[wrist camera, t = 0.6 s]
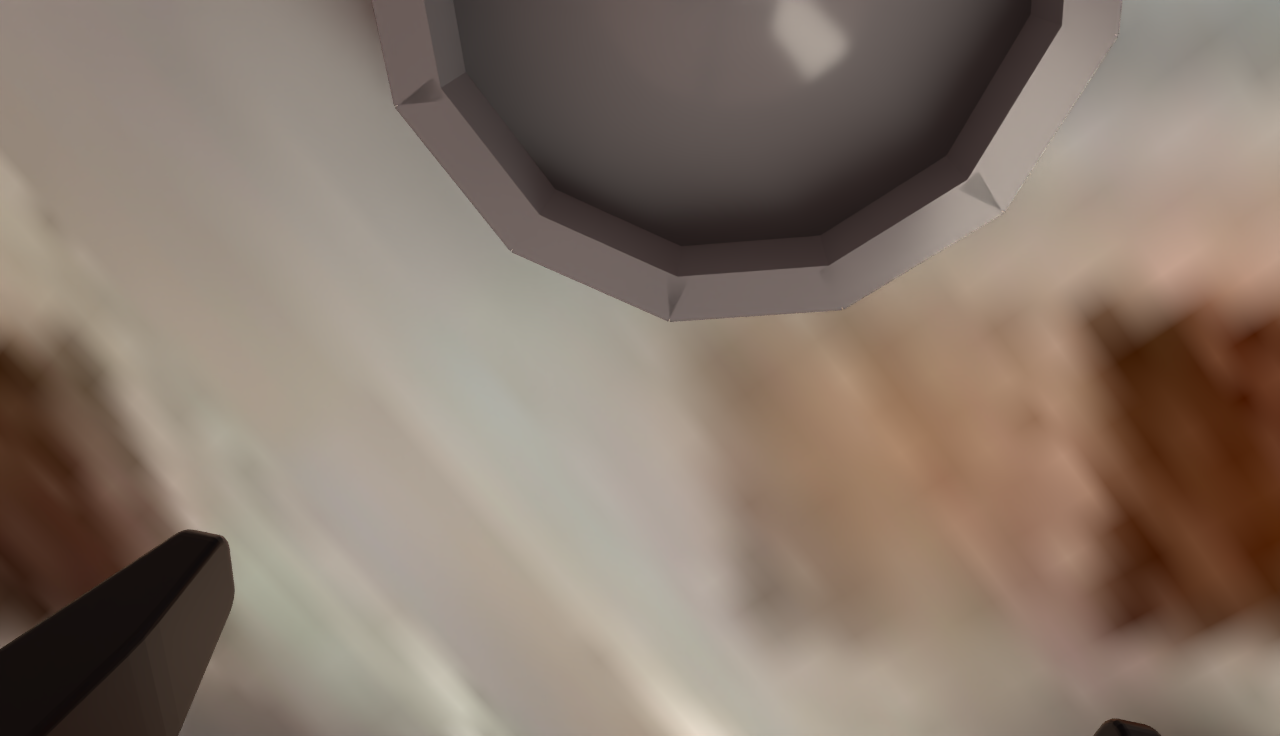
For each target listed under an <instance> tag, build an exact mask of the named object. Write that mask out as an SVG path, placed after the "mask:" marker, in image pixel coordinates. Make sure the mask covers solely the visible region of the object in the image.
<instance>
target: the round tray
mask: <svg viewBox="0 0 1280 736" xmlns="http://www.w3.org/2000/svg"><path fill="white" fill-rule="evenodd" d="M372 4H373V9H374V14H375V18H376V23H377V28H378V32H379V37H380V42H381V46H382V51H383V56H384V61H385V65H386V70H387V75H388V79H389V84H390V89H391V93H392V98H393V103H394V106H395V105H398V106H397V107H395V108H396V109H397V111H398V112H399V113H400V114H401V116H402V117H403V118H404V119H405V121H406V122H407V123H408V124H409V126H410V127H411V128H412V129H413V131H414V132H415V133H416V134H417V136H418V137H419V138H420V139H421V141H422V142H423V143H424V144H425V146H426V147H427V148H428V149H429V151H430V152H431V153H432V154H433V156H434V157H435V158H436V159H437V161H438V162H439V163H440V164H441V166H442V167H443V168H444V169H445V171H446V172H447V173H448V174H449V176H450V177H451V178H452V179H453V181H454V182H455V183H456V184H457V185H458V187H459V188H460V189H461V190H462V192H463V193H464V194H465V195H466V197H467V198H468V199H469V200H470V202H471V203H472V204H473V205H474V207H475V208H476V209H477V210H478V212H479V213H480V214H481V215H482V217H483V218H484V219H485V220H486V222H487V223H488V224H489V225H490V227H491V228H492V229H493V230H494V232H495V233H496V234H497V235H498V237H499V238H500V239H501V240H502V242H503V243H504V244H505V245H506V247H507V248H508V249H509V250H510V251H511V250H512V249H513V250H512V253H515V254H517V255H519V256H521V257H524V258H526V259H528V260H530V261H533V262H535V263H537V264H539V265H542V266H544V267H546V268H548V269H551V270H553V271H555V272H558V273H560V274H562V275H564V276H567V277H569V278H571V279H573V280H576V281H578V282H580V283H582V284H585V285H587V286H589V287H591V288H594V289H596V290H598V291H601V292H603V293H605V294H607V295H610V296H612V297H614V298H616V299H619V300H621V301H623V302H625V303H628V304H630V305H632V306H634V307H637V308H639V309H641V310H643V311H646V312H648V313H650V314H653V315H655V316H657V317H659V318H662V319H664V320H666V321H669V319H670V322H674V321H688V320H703V319H718V318H733V317H747V316H762V315H777V314H792V313H806V312H821V311H836V310H842V308H843V309H845V308H847V307H849V306H850V305H852V304H854V303H855V302H857V301H859V300H860V299H862V298H864V297H865V296H867V295H869V294H870V293H872V292H874V291H875V290H877V289H879V288H880V287H882V286H884V285H885V284H887V283H889V282H890V281H892V280H894V279H895V278H897V277H899V276H900V275H902V274H904V273H906V272H907V271H909V270H911V269H912V268H914V267H916V266H917V265H919V264H921V263H922V262H924V261H926V260H927V259H929V258H931V257H932V256H934V255H936V254H937V253H939V252H941V251H942V250H944V249H946V248H947V247H949V246H951V245H952V244H954V243H956V242H957V241H959V240H961V239H962V238H964V237H966V236H967V235H969V234H971V233H972V232H974V231H976V230H977V229H979V228H981V227H982V226H984V225H986V224H987V223H989V222H991V221H992V220H994V219H996V218H997V217H999V216H1001V215H1002V214H1003V212H1002V211H1004V212H1006V210H1007V209H1008V207H1009V205H1010V204H1011V202H1012V201H1013V199H1014V198H1015V196H1016V195H1017V193H1018V191H1019V190H1020V188H1021V187H1022V185H1023V184H1024V182H1025V181H1026V179H1027V177H1028V176H1029V174H1030V173H1031V171H1032V170H1033V168H1034V167H1035V165H1036V163H1037V162H1038V160H1039V159H1040V157H1041V156H1042V154H1043V153H1044V151H1045V149H1046V148H1047V146H1048V145H1049V143H1050V142H1051V140H1052V139H1053V137H1054V135H1055V134H1056V132H1057V131H1058V129H1059V128H1060V126H1061V125H1062V123H1063V121H1064V120H1065V118H1066V117H1067V115H1068V114H1069V112H1070V111H1071V109H1072V107H1073V106H1074V104H1075V103H1076V101H1077V100H1078V98H1079V97H1080V95H1081V93H1082V92H1083V90H1084V89H1085V87H1086V86H1087V84H1088V83H1089V81H1090V79H1091V78H1092V76H1093V75H1094V73H1095V72H1096V70H1097V69H1098V67H1099V65H1100V64H1101V62H1102V61H1103V59H1104V58H1105V56H1106V55H1107V53H1108V51H1109V50H1110V48H1111V47H1112V45H1113V44H1114V42H1115V41H1116V39H1117V37H1118V36H1116V35H1115V34H1119V28H1120V18H1121V8H1122V0H372Z"/></svg>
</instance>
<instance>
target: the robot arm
mask: <svg viewBox="0 0 1280 736" xmlns="http://www.w3.org/2000/svg"><path fill="white" fill-rule="evenodd" d="M234 592H235V589H234V580H233V572H232V564H231V556H230V548H229V544H228V541H227V540H226V539H225V538H224V537H223V536H221V535H217V534H212V533H207V532H202V531H197V530H184V531H181V532H178V533H177V534H175V535H173V536H172V537H170V538H169V539H167V540H166V541H164V542H163V543H161V544H160V545H158V546H157V547H155V548H154V549H152V550H151V551H149V552H147V553H146V554H144V555H143V556H141V557H140V558H138V559H137V560H135V561H134V562H132V563H131V564H129V565H128V566H126V567H125V568H123V569H122V570H120V571H118V572H117V573H115V574H114V575H112V576H111V577H109V578H108V579H106V580H105V581H103V582H102V583H100V584H99V585H97V586H96V587H94V588H93V589H91V590H89V591H88V592H86V593H85V594H83V595H82V596H80V597H79V598H77V599H76V600H74V601H73V602H71V603H70V604H68V605H67V606H65V607H64V608H62V609H60V610H59V611H57V612H56V613H54V614H53V615H51V616H50V617H48V618H47V619H45V620H44V621H42V622H41V623H39V624H38V625H36V626H35V627H33V628H31V629H30V630H28V631H27V632H25V633H24V634H22V635H21V636H19V637H18V638H16V639H15V640H13V641H12V642H10V643H9V644H7V645H6V646H4V647H3V648H1V649H0V736H178V734H179V732H180V730H181V728H182V725H183V723H184V720H185V718H186V716H187V713H188V711H189V709H190V706H191V704H192V701H193V699H194V697H195V694H196V692H197V690H198V687H199V685H200V682H201V680H202V678H203V675H204V673H205V671H206V668H207V666H208V663H209V661H210V659H211V656H212V654H213V652H214V649H215V647H216V644H217V642H218V640H219V637H220V635H221V632H222V630H223V628H224V625H225V623H226V621H227V618H228V616H229V613H230V611H231V608H232V604H233V600H234ZM1093 736H1161V735H1160V734H1159V733H1158V732H1157V731H1156V730H1154V729H1153V728H1152V727H1150V726H1147V725H1145V724H1140V723H1136V722H1131V721H1126V720H1121V719H1110V720H1108V721H1105V722H1104V723H1103V724H1102V725H1101V727H1100V728H1099V729H1098V730H1097V732H1096V733H1095V734H1094V735H1093Z"/></svg>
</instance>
